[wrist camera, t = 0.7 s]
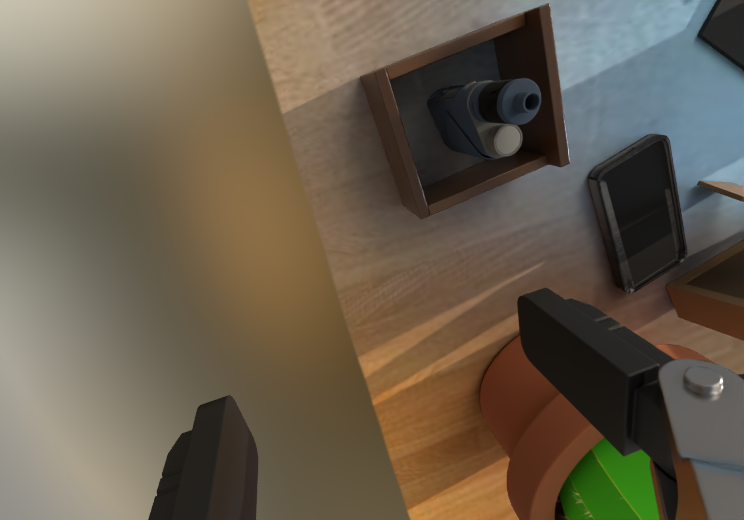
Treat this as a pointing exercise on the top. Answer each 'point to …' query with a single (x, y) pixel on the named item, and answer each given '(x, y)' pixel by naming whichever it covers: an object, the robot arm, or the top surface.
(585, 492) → the potted cactus
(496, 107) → the vaping device
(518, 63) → the wooden tray
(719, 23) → the coaster
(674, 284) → the photo frame
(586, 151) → the top surface
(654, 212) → the phone
